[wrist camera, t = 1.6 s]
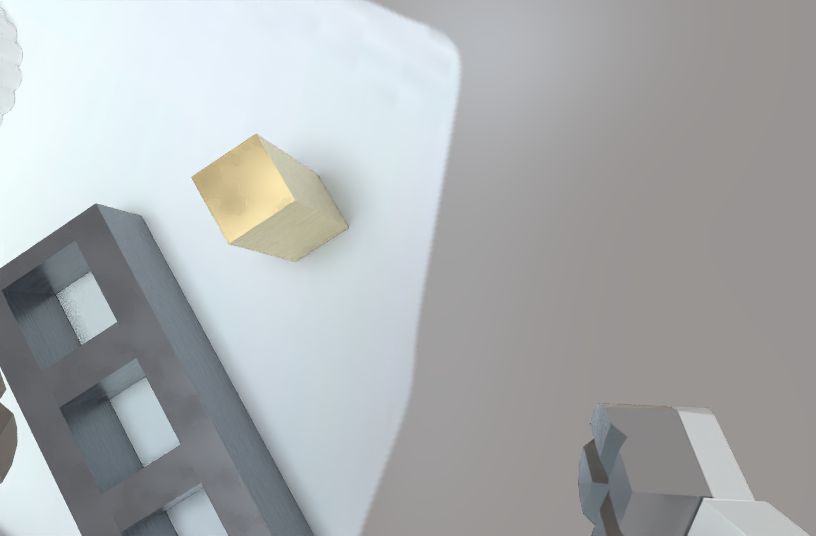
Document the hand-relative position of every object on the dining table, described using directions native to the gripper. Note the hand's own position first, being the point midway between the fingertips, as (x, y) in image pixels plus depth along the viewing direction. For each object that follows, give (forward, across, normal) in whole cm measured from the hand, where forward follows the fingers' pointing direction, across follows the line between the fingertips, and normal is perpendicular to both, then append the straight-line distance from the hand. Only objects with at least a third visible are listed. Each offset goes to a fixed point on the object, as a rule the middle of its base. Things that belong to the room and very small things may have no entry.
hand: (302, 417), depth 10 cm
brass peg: (+33, +4, +16) cm, 37 cm away
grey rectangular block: (+27, +12, +28) cm, 40 cm away
